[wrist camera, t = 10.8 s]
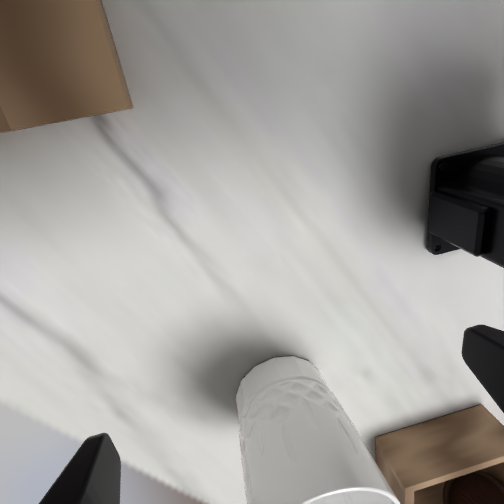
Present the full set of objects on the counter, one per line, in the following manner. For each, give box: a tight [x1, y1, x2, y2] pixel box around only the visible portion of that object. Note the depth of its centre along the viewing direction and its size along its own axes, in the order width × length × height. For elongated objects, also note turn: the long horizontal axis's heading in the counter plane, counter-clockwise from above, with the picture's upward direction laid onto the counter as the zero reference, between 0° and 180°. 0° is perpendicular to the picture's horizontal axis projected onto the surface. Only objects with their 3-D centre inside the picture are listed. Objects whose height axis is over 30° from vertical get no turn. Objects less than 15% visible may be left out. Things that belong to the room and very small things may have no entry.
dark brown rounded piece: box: [443, 470, 504, 504], centre depth 30 cm, size 8×8×7 cm
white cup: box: [236, 356, 400, 504], centre depth 22 cm, size 8×8×10 cm
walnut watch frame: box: [375, 404, 504, 504], centre depth 31 cm, size 11×11×4 cm
